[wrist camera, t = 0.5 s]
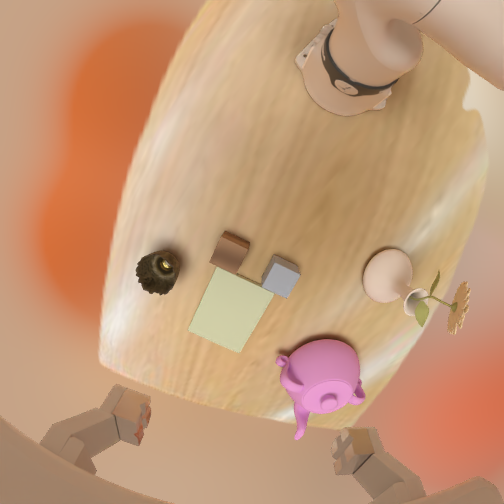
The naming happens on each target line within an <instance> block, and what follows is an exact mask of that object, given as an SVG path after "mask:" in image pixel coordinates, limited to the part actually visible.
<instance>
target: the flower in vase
mask: <svg viewBox="0 0 504 504" xmlns="http://www.w3.org/2000/svg"><path fill="white" fill-rule="evenodd" d="M412 275H413V269H412V265H411V262H410V259H409V258H408V256H407V255H406V254H405V253H404V252H402V251H400V250H397V249H387V250H384V251H381V252H380V253H378V254H377V255H375V256H374V257H373V258H372V259H371V260H370V262H369V263H368V265H367V267H366V269H365V271H364V275H363V286H364V290H365V292H366V294H367V295H368V296H369V297H370V298H371V299H372V300H374V301H377V302H381V303H388V302H392V301H394V300H396V299H398V298H400V297H402V299H403V300H404V311H405V313H406V314H407V315H409V316H416V319H417V321H418V323H419V324H420V326H421V327H423V325H424V323H425V321H426V319H427V317H428V314H429V308H428V306H427V303H428V298H433V299H435V300H437V301H439V302H441V303H443V304H445V305H447V306H449V307H451V309H450V314H449V317H448V332H449V333H450V334H453V335H455V334H456V329H457V324H458V326H459V328H460V329H461V328H462V324H463V320H464V318H465V315H464V314H465V313H467V312H468V310H469V306H468V305H467V303H468V301H469V294H470V288H469V289H468V287H467V285H468V282H463V283H461V285H460V287H459V288H458V289H457V293H456V294H455V297H454V300H453V302H452V305H449V304H447V303H445V302H443V301H441V300H440V299H438V298H436V297H434V296H431V295H432V293H433V291H434V290H435V288H436V286H437V284H438V282H439V278H440V272H439V271H438V275H437V277H436V279H435V281H434V282H433V284H432V286H431V290H430V296H428V293H427V291H426V290H425V289H422V288H417V289H412V288H410V287H409V285H410V283H411V280H412Z"/></svg>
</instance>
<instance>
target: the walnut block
mask: <svg viewBox="0 0 504 504" xmlns="http://www.w3.org/2000/svg"><path fill="white" fill-rule="evenodd" d="M249 243H250V242H247V241H245V240H243V239H241V238H239V237H237V236H235V235H233V234H231V233H229V232H227V231H225V232H224V233H223V235H222V236H221V238H220V240H219V242H218V244H217V246H216V249H215V251H214V253H213V255H212V257H211V260H210V263H212V264H214V265H216V266H218V267H220V268H222V269H224V270H227V271H229V272H231V273H233V274H235V275H236V273H237V271H238V269H239V267H240V265H241V263H242V261H243V259H244V257H245V255H246V253H247V251H248V248H249Z"/></svg>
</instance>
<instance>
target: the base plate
mask: <svg viewBox="0 0 504 504" xmlns="http://www.w3.org/2000/svg"><path fill="white" fill-rule="evenodd" d="M274 294H275V293H274V292H271V291H269V290H267V289H265V288H263V287H262V285H260V284H258V283H256V282H254V281H252V280H250V279H248V278H246V277H243V276H241V275H239V274H237V273H236V275H235V274H233V273H231V272H229V271H227V270H224V269H222V268H220V267H218V266H217V268H216V270H215V272H214V274H213V276H212V278H211V281H210V283H209V285H208V287H207V289H206V291H205V293H204V296H203V298H202V300H201V302H200V304H199V307H198V309H197V311H196V313H195V315H194V318H193V320H192V322H191V324H190V326H189V329H188V331H190V332H192V333H194V334H196V335H198V336H201V337H203V338H205V339H207V340H209V341H212V342H214V343H216V344H219V345H221V346H223V347H226V348H228V349H230V350H233V351H235V352H237V353H240V351H241V350H242V348H243V346H244V345H245V343H246V341H247V340H248V338H249V336H250V335H251V333H252V331H253V330H254V328H255V326H256V325H257V323H258V321H259V320H260V318H261V316H262V315H263V313H264V311H265V309H266V308H267V306H268V304H269V303H270V301H271V299H272V297H273V296H274Z"/></svg>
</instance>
